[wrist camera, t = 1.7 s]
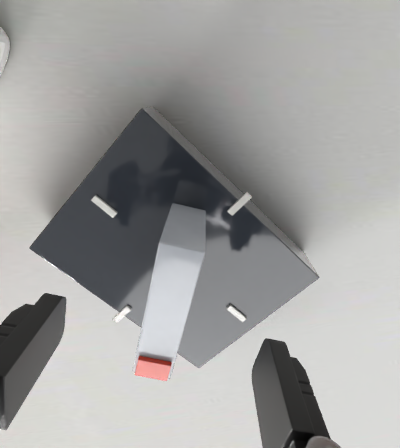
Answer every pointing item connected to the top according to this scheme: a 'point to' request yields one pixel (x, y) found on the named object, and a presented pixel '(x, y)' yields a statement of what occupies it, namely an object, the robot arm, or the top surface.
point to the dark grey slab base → (152, 230)
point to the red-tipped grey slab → (171, 291)
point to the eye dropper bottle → (3, 49)
